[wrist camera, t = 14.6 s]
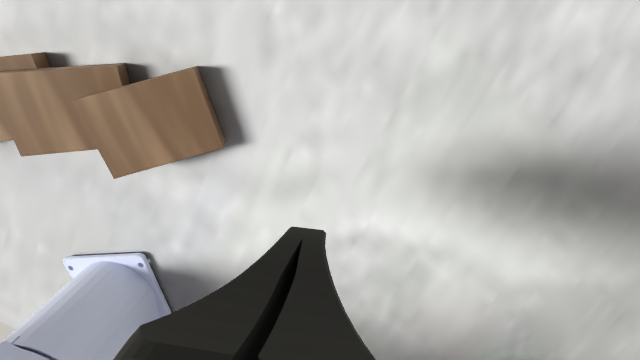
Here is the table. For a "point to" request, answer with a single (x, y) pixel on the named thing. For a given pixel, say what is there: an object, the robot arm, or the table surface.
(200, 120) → the domino
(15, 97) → the domino
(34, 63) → the domino
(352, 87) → the table surface
